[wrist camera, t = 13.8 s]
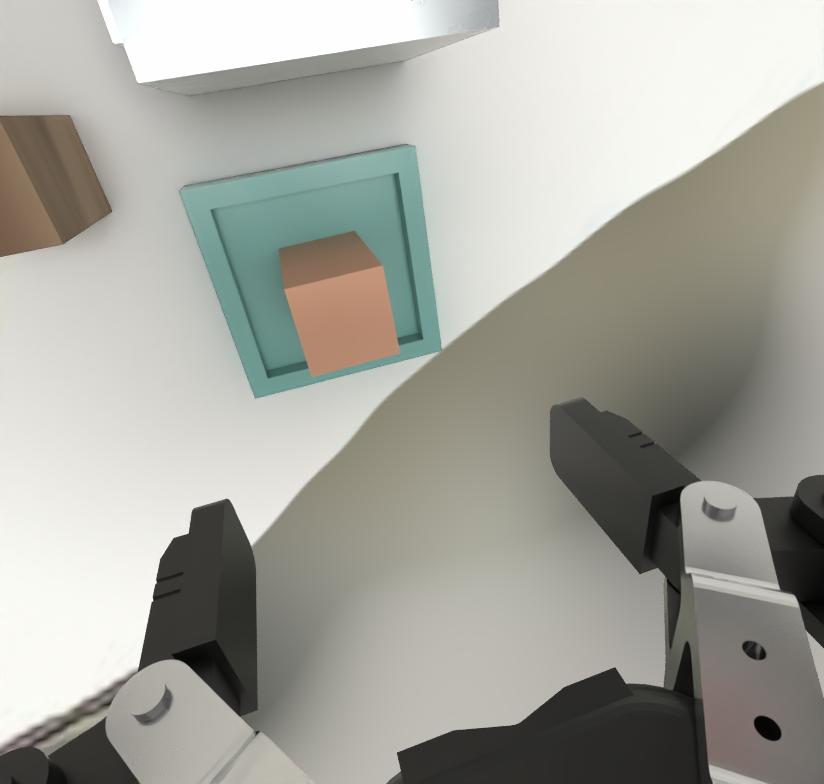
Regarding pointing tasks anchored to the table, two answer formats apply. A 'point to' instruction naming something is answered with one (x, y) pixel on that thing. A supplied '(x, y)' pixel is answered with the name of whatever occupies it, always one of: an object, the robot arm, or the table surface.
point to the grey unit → (280, 37)
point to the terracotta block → (338, 302)
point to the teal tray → (306, 221)
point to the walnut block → (45, 184)
